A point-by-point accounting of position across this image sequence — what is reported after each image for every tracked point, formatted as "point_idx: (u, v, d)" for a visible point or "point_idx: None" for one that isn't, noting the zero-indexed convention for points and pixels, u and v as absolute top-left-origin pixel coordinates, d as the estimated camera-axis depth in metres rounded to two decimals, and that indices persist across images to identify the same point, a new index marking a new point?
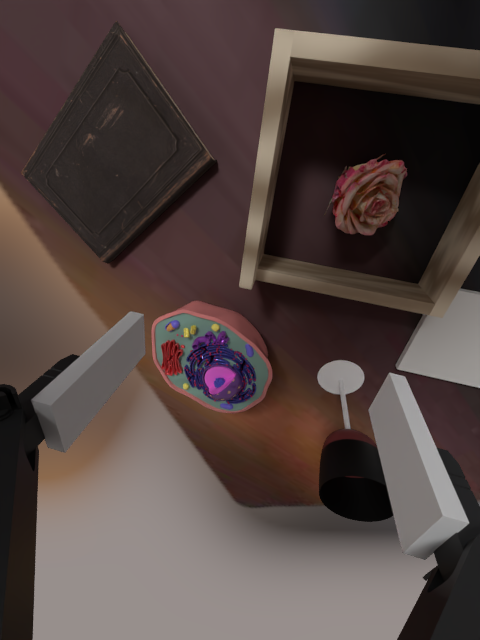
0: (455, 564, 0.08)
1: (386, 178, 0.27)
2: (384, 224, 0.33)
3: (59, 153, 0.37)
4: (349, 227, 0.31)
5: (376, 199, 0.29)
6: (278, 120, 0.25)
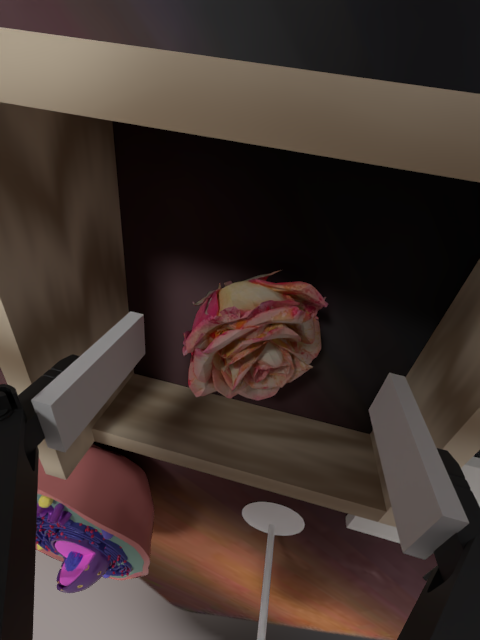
0: (455, 564, 0.08)
1: (269, 337, 0.13)
2: None
3: None
4: (225, 391, 0.17)
5: None
6: None
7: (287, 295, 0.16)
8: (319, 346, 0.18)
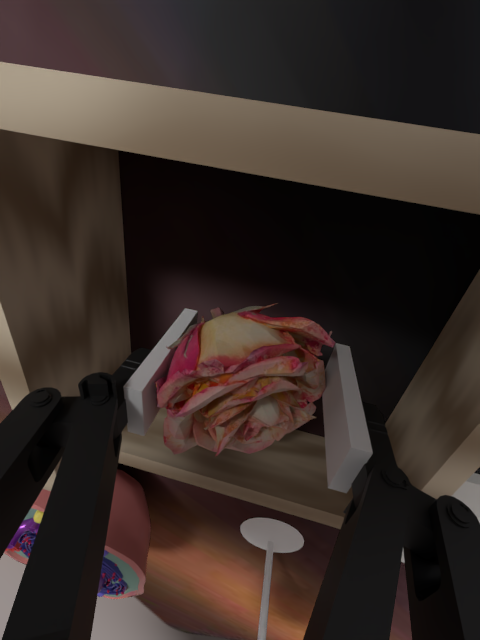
0: (362, 493, 0.10)
1: None
2: (302, 408, 0.16)
3: None
4: (210, 444, 0.14)
5: None
6: None
7: (285, 331, 0.13)
8: (323, 386, 0.15)
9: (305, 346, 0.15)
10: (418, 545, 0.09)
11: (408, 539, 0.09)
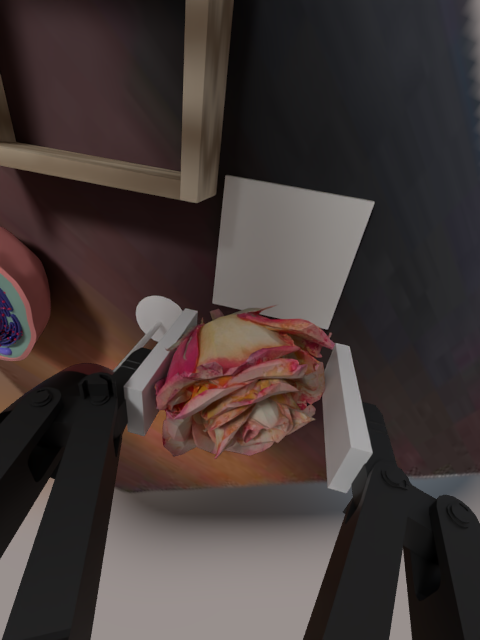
0: (362, 493, 0.10)
1: None
2: (301, 409, 0.16)
3: None
4: (210, 446, 0.14)
5: None
6: None
7: (284, 333, 0.13)
8: None
9: (305, 348, 0.15)
10: (417, 545, 0.09)
11: (407, 539, 0.09)
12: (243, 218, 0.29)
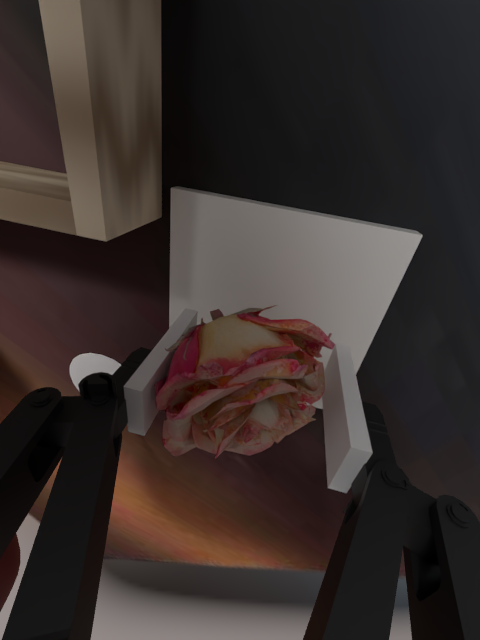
0: (362, 493, 0.10)
1: None
2: (301, 409, 0.16)
3: None
4: (210, 446, 0.14)
5: None
6: None
7: (284, 333, 0.13)
8: None
9: (305, 348, 0.15)
10: (417, 545, 0.09)
11: (407, 539, 0.09)
12: (204, 255, 0.18)
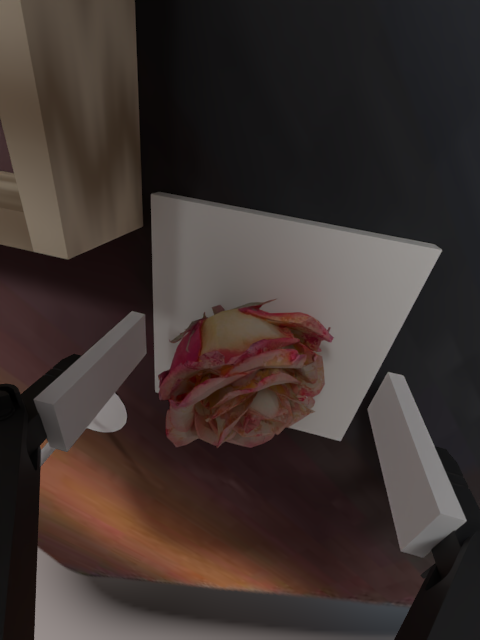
0: (452, 562, 0.08)
1: None
2: None
3: None
4: (211, 438, 0.14)
5: None
6: None
7: (284, 327, 0.13)
8: (322, 382, 0.15)
9: (304, 342, 0.15)
10: None
11: None
12: (191, 270, 0.16)
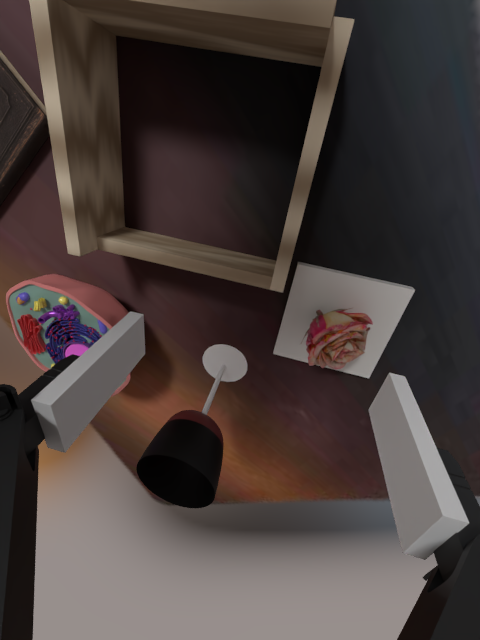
0: (455, 564, 0.08)
1: (352, 337, 0.31)
2: None
3: None
4: (321, 364, 0.34)
5: (344, 348, 0.32)
6: (53, 62, 0.23)
7: (354, 318, 0.34)
8: (365, 343, 0.36)
9: None
10: None
11: None
12: (308, 294, 0.36)
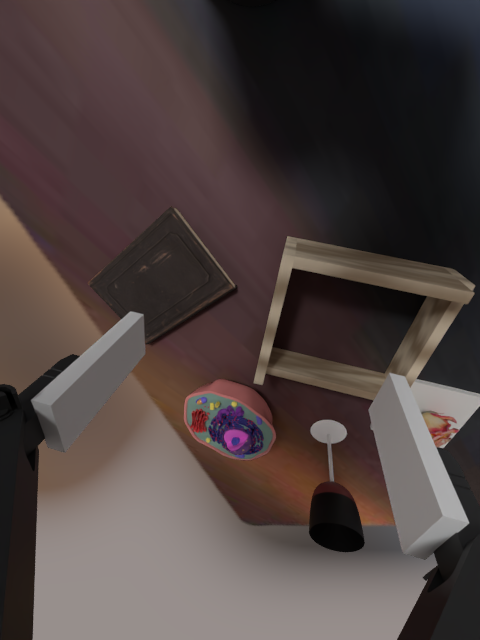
0: (455, 564, 0.08)
1: (447, 437, 0.46)
2: None
3: (119, 275, 0.50)
4: None
5: None
6: (284, 297, 0.38)
7: None
8: None
9: None
10: None
11: None
12: None
